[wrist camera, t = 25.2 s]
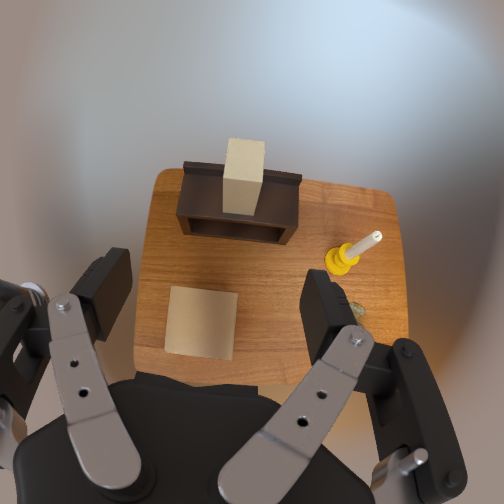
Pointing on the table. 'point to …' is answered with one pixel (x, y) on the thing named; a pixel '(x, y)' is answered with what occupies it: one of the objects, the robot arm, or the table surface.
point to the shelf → (237, 225)
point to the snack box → (243, 176)
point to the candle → (349, 254)
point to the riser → (201, 323)
